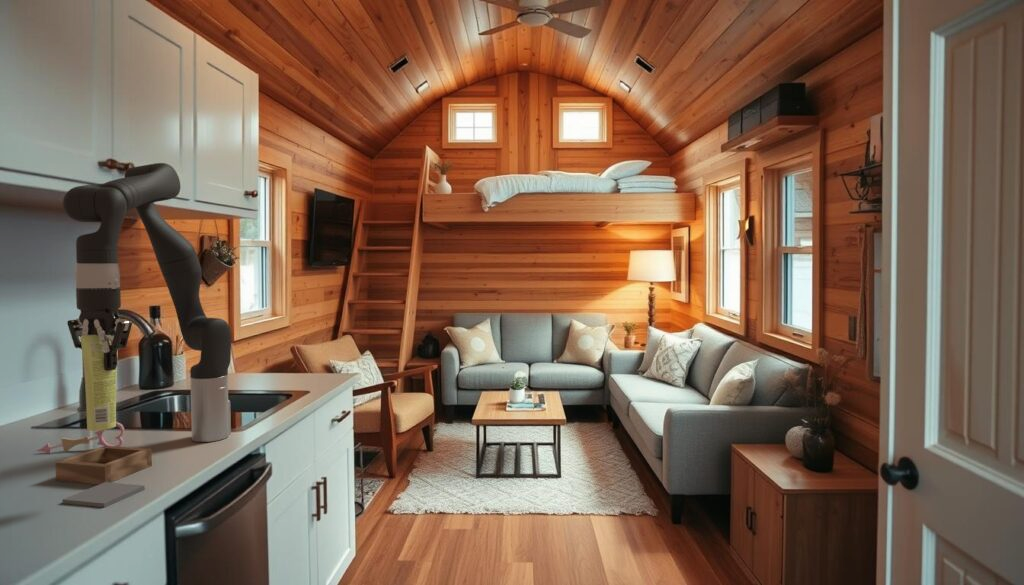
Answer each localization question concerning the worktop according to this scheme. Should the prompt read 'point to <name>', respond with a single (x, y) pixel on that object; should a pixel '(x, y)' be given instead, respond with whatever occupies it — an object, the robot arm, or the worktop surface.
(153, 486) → the worktop surface
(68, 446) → the decorative key
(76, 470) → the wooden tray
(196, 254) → the robot arm
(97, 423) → the tube
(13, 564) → the worktop surface
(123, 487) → the pad
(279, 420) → the worktop surface
